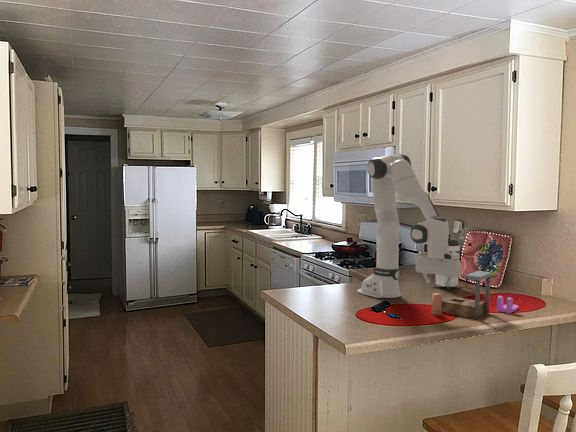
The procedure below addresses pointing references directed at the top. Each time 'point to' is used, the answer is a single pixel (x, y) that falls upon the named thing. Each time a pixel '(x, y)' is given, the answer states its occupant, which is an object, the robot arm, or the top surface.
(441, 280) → the coffee press
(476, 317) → the grey legged stand
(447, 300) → the socket block
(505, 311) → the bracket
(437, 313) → the peg
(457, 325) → the top surface
